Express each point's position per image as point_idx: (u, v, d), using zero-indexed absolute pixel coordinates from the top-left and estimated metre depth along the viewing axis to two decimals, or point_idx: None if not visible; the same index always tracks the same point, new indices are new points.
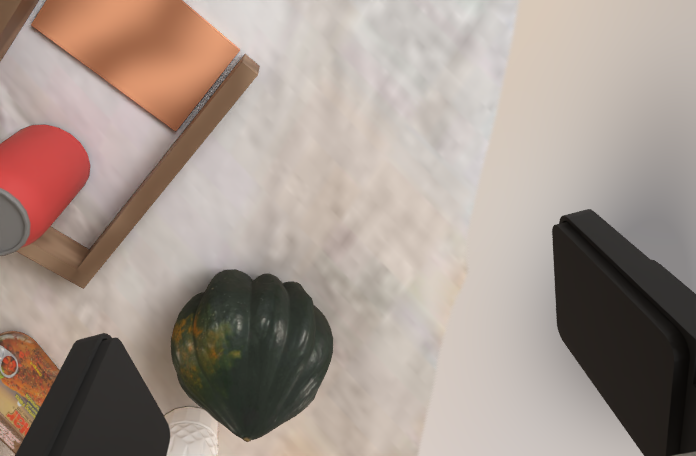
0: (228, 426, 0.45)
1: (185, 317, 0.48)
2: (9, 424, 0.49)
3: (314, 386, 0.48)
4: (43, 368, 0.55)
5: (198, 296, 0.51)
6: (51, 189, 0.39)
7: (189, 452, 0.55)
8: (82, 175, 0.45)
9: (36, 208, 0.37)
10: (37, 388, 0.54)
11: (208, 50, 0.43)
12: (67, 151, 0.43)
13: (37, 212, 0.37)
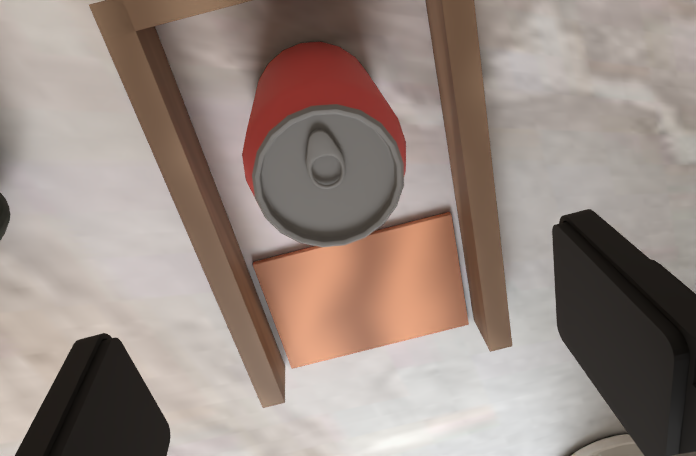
0: None
1: None
2: None
3: None
4: None
5: None
6: None
7: None
8: None
9: None
10: None
11: (310, 345, 0.37)
12: None
13: None
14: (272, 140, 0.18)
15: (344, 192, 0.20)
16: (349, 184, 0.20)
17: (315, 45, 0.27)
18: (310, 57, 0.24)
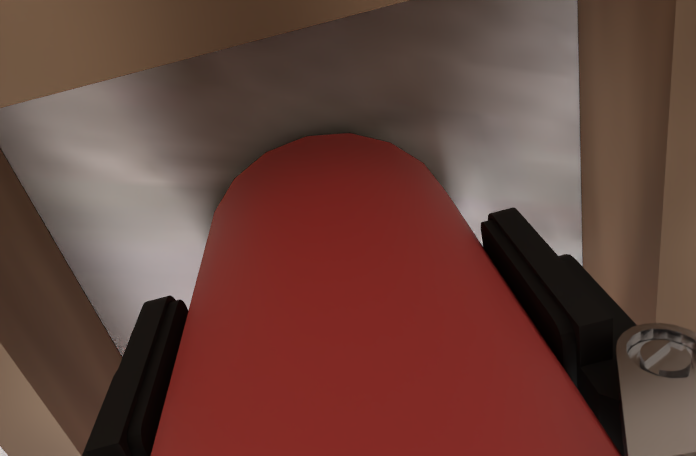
0: None
1: None
2: None
3: None
4: None
5: None
6: None
7: None
8: None
9: None
10: None
11: None
12: None
13: None
14: None
15: None
16: None
17: (340, 150, 0.12)
18: (336, 223, 0.09)
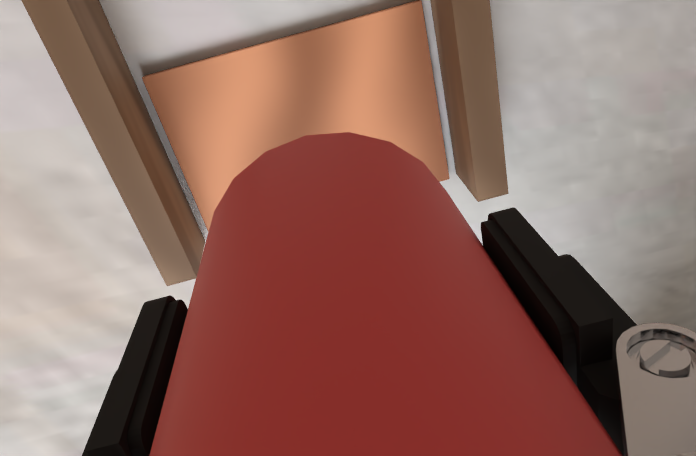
0: None
1: None
2: None
3: None
4: None
5: None
6: None
7: None
8: None
9: None
10: None
11: None
12: None
13: None
14: None
15: None
16: None
17: (340, 149, 0.12)
18: (336, 222, 0.09)
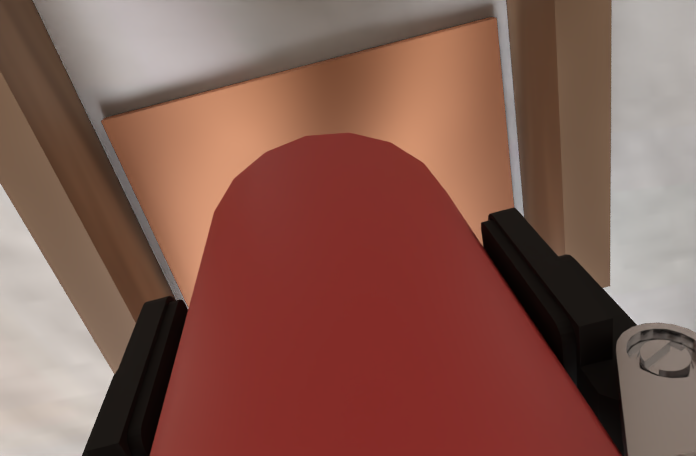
0: None
1: None
2: None
3: None
4: None
5: None
6: None
7: None
8: None
9: None
10: None
11: None
12: None
13: None
14: None
15: None
16: None
17: (340, 150, 0.12)
18: (336, 222, 0.09)
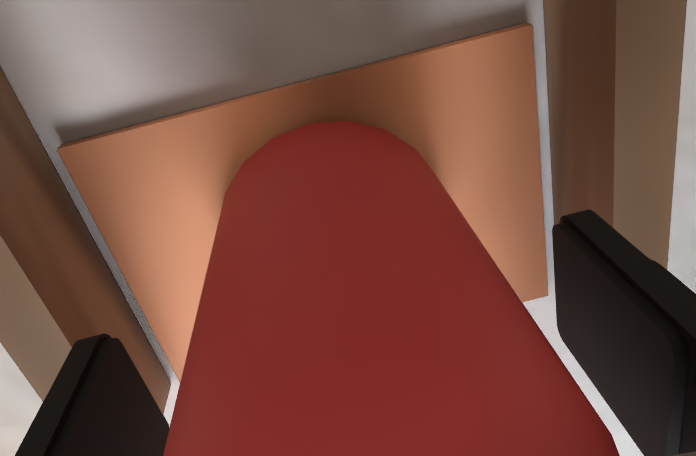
0: None
1: None
2: None
3: None
4: None
5: None
6: None
7: None
8: None
9: None
10: None
11: None
12: None
13: None
14: None
15: None
16: None
17: (339, 135, 0.13)
18: (336, 193, 0.10)
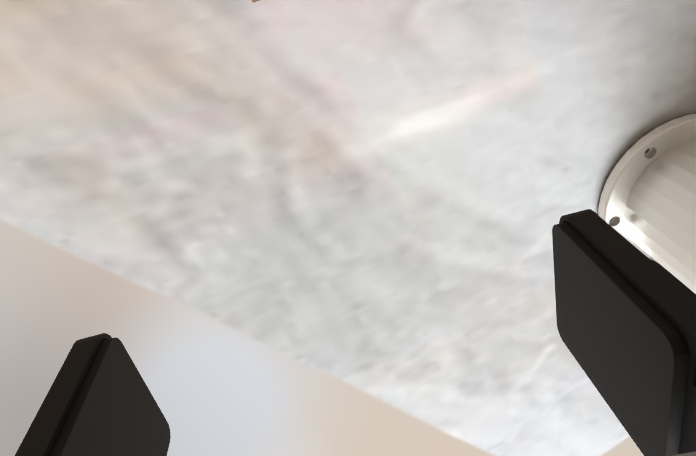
0: None
1: None
2: None
3: None
4: None
5: None
6: None
7: None
8: None
9: None
10: None
11: None
12: None
13: None
14: None
15: None
16: None
17: None
18: None
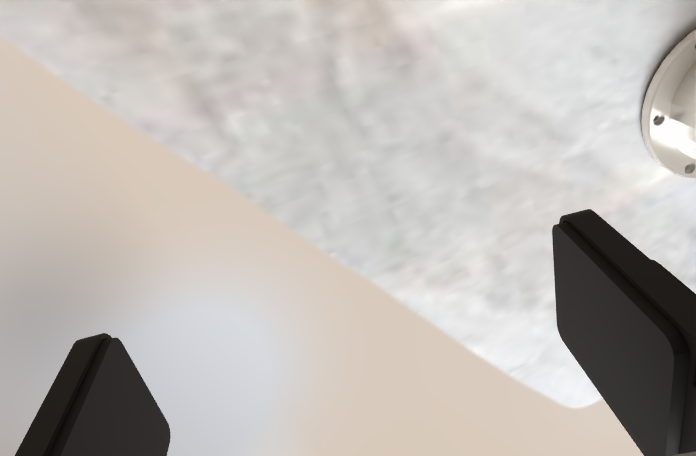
0: None
1: None
2: None
3: None
4: None
5: None
6: None
7: None
8: None
9: None
10: None
11: None
12: None
13: None
14: None
15: None
16: None
17: None
18: None
